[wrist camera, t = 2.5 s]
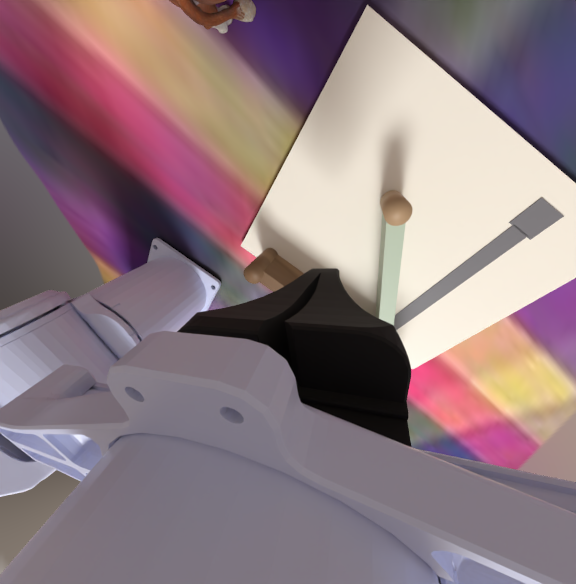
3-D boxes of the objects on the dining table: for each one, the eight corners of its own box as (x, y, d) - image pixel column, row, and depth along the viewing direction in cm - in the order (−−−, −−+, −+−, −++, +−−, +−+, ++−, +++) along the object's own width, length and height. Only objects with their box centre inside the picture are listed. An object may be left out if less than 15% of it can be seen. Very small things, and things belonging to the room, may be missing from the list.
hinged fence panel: (388, 343, 21) (393, 375, 18) (370, 341, 22) (371, 372, 18) (405, 188, 15) (416, 197, 12) (379, 191, 15) (382, 200, 12)
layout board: (411, 365, 22) (413, 369, 22) (243, 244, 21) (240, 246, 20) (633, 237, 14) (643, 240, 13) (367, 10, 12) (367, 4, 12)
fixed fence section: (365, 331, 21) (365, 364, 18) (260, 256, 20) (240, 276, 17) (376, 323, 21) (378, 355, 17) (267, 244, 20) (248, 262, 16)
